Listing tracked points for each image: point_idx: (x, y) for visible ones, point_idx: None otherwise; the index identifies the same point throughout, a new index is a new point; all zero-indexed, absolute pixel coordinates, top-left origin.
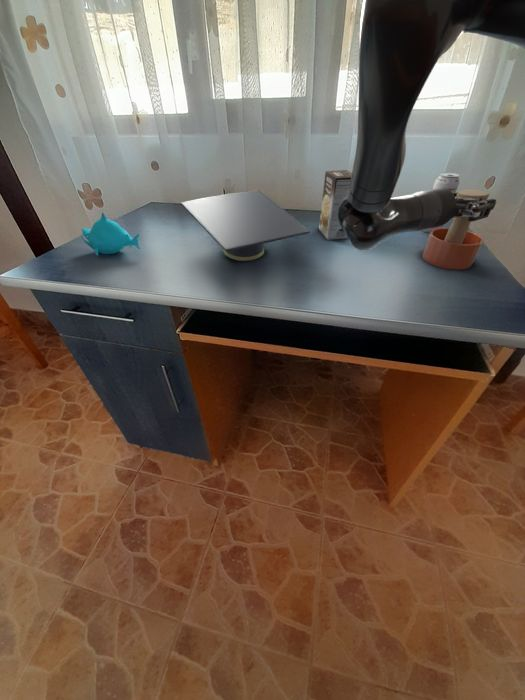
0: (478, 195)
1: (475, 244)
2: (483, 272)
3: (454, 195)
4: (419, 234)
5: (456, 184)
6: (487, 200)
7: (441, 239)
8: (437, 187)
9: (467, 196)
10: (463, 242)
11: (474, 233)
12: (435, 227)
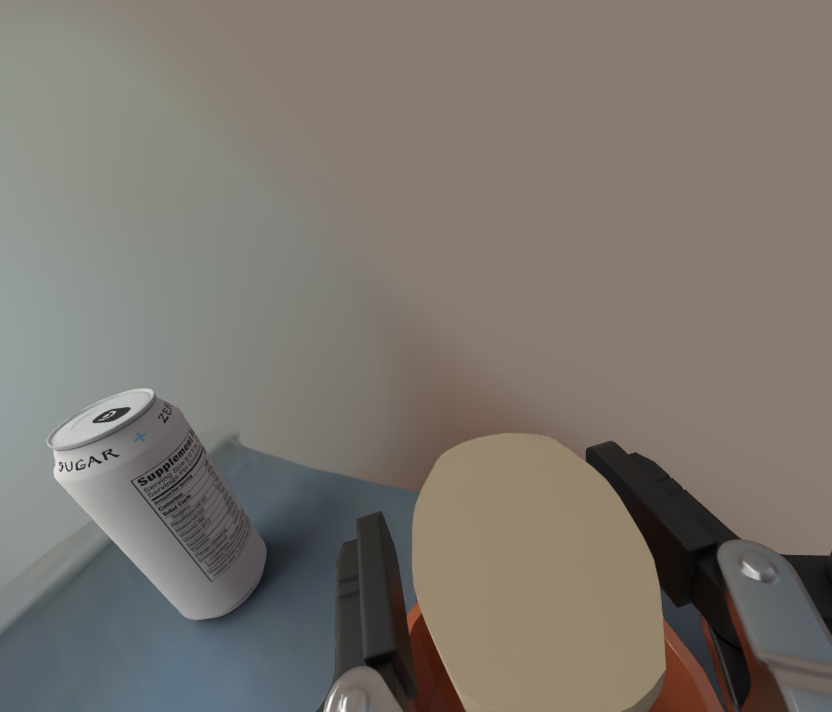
0: (634, 548)
1: (699, 671)
2: (694, 644)
3: (389, 663)
4: (223, 666)
5: (178, 425)
6: (663, 505)
7: (412, 702)
8: (100, 496)
9: (653, 685)
10: None
11: None
12: (250, 574)
